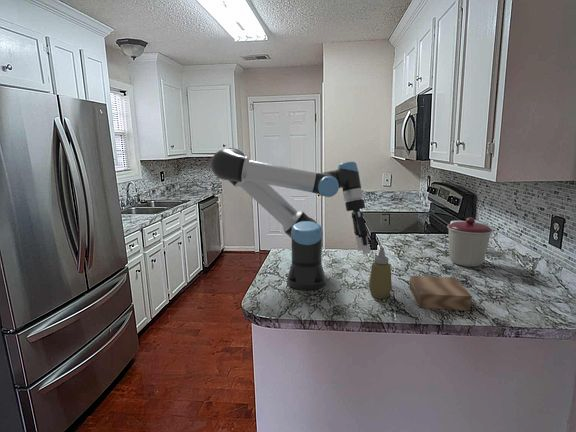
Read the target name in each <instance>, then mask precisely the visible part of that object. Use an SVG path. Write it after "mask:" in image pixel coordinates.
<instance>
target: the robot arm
mask: <svg viewBox="0 0 576 432" xmlns="http://www.w3.org/2000/svg"><path fill="white" fill-rule="evenodd" d="M210 167H211V171H212V172H213V174H214V175H215V177H217V178H218V179H220V180H223V181H228V182H229V183H230V184H232V185H233V187H240V188H242V190H243V191H244V192H246V193H247V194H248V195H249V196H250V197H251V198H252V199H254V200H255V201H256V202H257V203H258V204H259V205H260V207H262V208H263V209H264V211H266V212H267V213H268V214H270V216H272V217H273V218H274V219H275V220H277V222H278V223H279V224H281V226H282V227H283V229H282V230H283V233H285V234H286V235H287V236H288V237H289V238H290V239H291V265H290V267H289V271H288V274H287V278H286V279H287V280H286V281H287V285H288V286H289V287H291V288H292V289H295V290H299V291H315V290H319V289H321V288H323V287H325V286H326V284H327V282H326V281H327V278H326V274H325V270H324V267H323V263H322V259H323V257H322V250H323V249H322V248H323V229H322V226H321V224H319V223H318V222H317V220H315V219H313V218H312V217H309V216H308V215H307V213H305V212H304V211H303V210H297V209H296V208H294V206H293V205H291V204H290V203H289V202H288V201H287V200H286V199H285V198H284V197H283V196H282V195H281V194H280V193H278V192H277V191H276V190H275V189H274V188H273V187H272V186H276V187H281V188H285V189H290V190H297V191H303V192H307V193H313V194H316V195H321V196H322V197H326V198H332V197H334V196H335V195H336V194H337V193H338V191H339V190H340V188H341V189H342V194H343V200H344V202H345V203H344V204H345V210H346V212H351V219H352V224H353V232H354V235H355V240H356V245H357V250H358V252H362V254H363V255H367V254H370V253H371V250H370V245H369V240H368V235H369V234H368V231H367V226H366V224H365V220H364V215H363V212H362V210H363V209H366V204H365V200H364V199H363V198H364V195H363V194H364V190H362V184H361V179H360V172H359V170H358V169H359V168H358V164H357V163H356V161H345V162H342V163H340V164H338V167H337V169H334V170H330V171H323V172H318V173H317V172H313V171H308V170H303V169H297V168H293V167H287V166H282V165H279V164H270V163H266V162H261V161H257V160H251V159H250V158H249V157H248V156H246V154H245V153H244V152H243V151H241V150H239V149H237V148H234V147H233V148H232V147H229V148H224V149H221V150H218V151H217V152H216V153H214V155H213V156H212V158H211V162H210Z"/></svg>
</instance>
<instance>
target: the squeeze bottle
mask: <svg viewBox="0 0 576 432" xmlns="http://www.w3.org/2000/svg"><path fill="white" fill-rule="evenodd" d="M392 286H393V285H392V266H391V264H390V263H389V257H387V256H386V253H385V248H384V247H380V248H379V252H378V255H376V256H375V257H374V262H373V263H371V268H370V274H369V282H368V288H369V292H370V295H371V296H372V297H373V298H375V299H379V300H380V299H381V300H385V299H387V298H389V295H390V294H391V291H392Z"/></svg>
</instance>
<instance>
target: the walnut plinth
mask: <svg viewBox="0 0 576 432" xmlns="http://www.w3.org/2000/svg"><path fill="white" fill-rule="evenodd" d="M409 277H410V278H409V290H410V292H411V294H412V296H413V297H414V299H415V301H416V304H417V306H418V307H419V309H431V310H432V309H435V310H452V309H454V310H455V311H471V307H472V306H471V305H472V299H473V296H472V295H471V294H470V292H469V291H468V290H467V289H466V288H465V287H464V286H463V284H462V283H461V282H460V281H459V280H458V279H457V278H456V277H455V276H454V277H453V276H452V277H451V276H449V277H448V276H429V275H428V276H427V275H410V276H409Z"/></svg>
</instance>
